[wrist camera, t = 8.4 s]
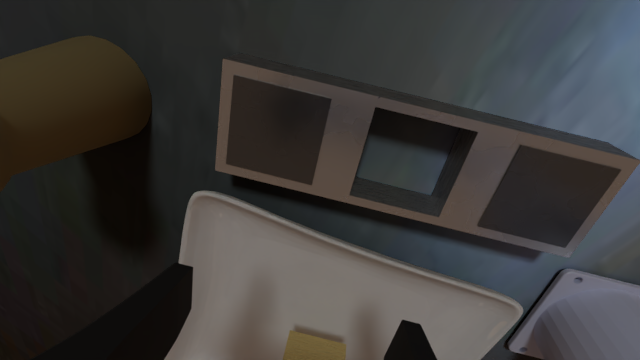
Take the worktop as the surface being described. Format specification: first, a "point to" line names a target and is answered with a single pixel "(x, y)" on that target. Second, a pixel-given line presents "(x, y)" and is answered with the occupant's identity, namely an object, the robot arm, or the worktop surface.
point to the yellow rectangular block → (312, 348)
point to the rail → (458, 172)
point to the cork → (67, 102)
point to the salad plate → (317, 291)
